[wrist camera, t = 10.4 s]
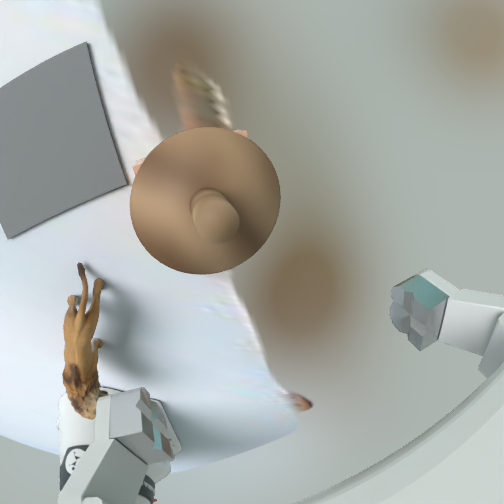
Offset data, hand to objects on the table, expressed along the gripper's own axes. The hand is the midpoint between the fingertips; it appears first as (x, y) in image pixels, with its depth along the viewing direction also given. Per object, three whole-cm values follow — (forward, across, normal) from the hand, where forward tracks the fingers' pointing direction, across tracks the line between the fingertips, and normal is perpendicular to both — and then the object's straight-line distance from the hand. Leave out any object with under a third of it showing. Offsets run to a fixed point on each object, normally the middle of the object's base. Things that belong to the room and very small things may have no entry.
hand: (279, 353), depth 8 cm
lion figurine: (+22, +16, +10) cm, 28 cm away
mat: (+21, +12, -10) cm, 26 cm away
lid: (+18, -1, 0) cm, 18 cm away
